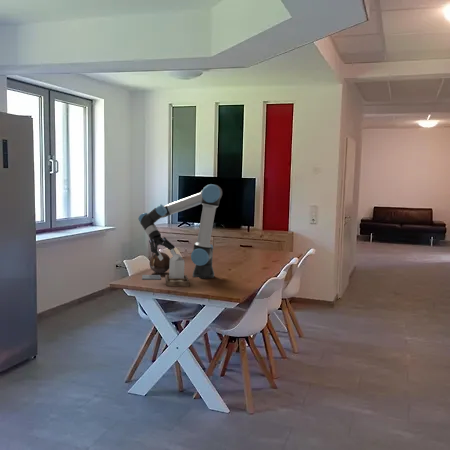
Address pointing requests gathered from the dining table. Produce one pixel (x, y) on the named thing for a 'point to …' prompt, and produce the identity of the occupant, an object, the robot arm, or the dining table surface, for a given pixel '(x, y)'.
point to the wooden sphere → (160, 263)
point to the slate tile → (151, 277)
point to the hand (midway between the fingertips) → (169, 258)
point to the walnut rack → (176, 283)
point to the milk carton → (176, 267)
